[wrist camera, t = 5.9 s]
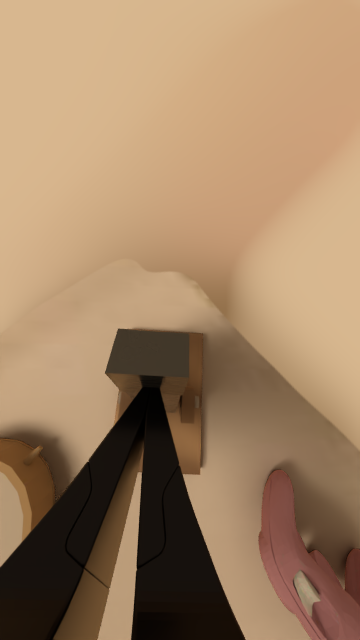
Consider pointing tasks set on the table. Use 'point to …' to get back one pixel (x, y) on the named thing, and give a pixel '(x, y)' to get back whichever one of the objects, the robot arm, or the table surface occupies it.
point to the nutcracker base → (183, 412)
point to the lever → (150, 363)
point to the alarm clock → (22, 493)
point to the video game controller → (306, 570)
